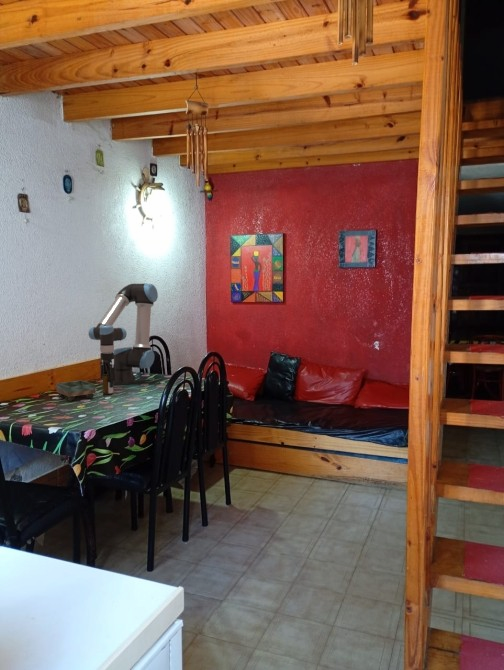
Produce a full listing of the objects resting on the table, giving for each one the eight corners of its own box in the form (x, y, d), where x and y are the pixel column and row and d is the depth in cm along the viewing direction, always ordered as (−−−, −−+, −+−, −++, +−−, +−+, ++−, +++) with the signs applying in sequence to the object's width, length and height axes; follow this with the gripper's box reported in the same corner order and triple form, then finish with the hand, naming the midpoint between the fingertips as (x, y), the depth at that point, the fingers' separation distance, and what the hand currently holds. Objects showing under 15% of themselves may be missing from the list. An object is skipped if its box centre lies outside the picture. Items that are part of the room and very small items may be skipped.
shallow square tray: (82, 393, 309) (81, 380, 309) (95, 398, 297) (95, 384, 296) (56, 397, 299) (56, 383, 299) (69, 402, 287) (68, 387, 286)
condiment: (111, 392, 313) (111, 372, 312) (117, 395, 306) (117, 374, 305) (99, 394, 308) (99, 373, 307) (105, 396, 302) (104, 375, 301)
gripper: (93, 351, 310) (94, 390, 312) (108, 354, 296) (109, 395, 298) (105, 350, 315) (106, 388, 317) (121, 353, 301) (121, 393, 303)
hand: (108, 392), depth 308 cm, fingers closed on condiment, 6 cm apart
